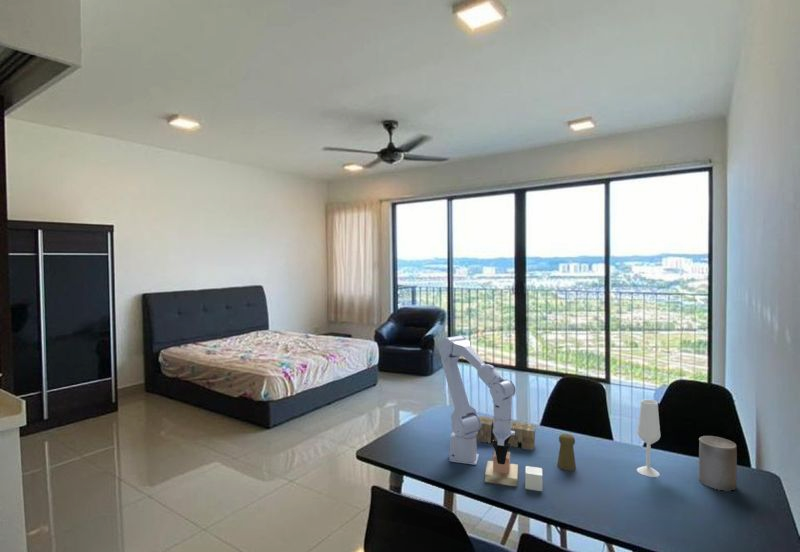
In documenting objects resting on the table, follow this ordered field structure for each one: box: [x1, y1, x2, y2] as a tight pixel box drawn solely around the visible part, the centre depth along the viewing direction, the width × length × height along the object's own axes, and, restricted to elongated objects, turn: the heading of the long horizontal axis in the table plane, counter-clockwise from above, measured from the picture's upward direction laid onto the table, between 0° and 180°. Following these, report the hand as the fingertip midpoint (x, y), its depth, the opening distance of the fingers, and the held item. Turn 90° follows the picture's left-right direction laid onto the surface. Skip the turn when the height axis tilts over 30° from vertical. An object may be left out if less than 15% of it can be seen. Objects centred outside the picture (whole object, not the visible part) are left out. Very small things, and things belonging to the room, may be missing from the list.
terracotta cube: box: [492, 451, 511, 474], centre depth 139 cm, size 5×5×5 cm
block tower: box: [462, 414, 536, 451], centre depth 168 cm, size 8×8×29 cm
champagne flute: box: [636, 398, 661, 478], centre depth 142 cm, size 7×7×24 cm
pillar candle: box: [698, 435, 738, 492], centre depth 135 cm, size 10×10×15 cm
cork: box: [557, 433, 577, 472], centre depth 146 cm, size 6×6×11 cm
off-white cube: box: [524, 465, 543, 492], centre depth 133 cm, size 5×5×5 cm
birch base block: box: [484, 460, 519, 487], centre depth 139 cm, size 10×10×3 cm
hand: (501, 458), depth 139 cm, fingers open, 7 cm apart
